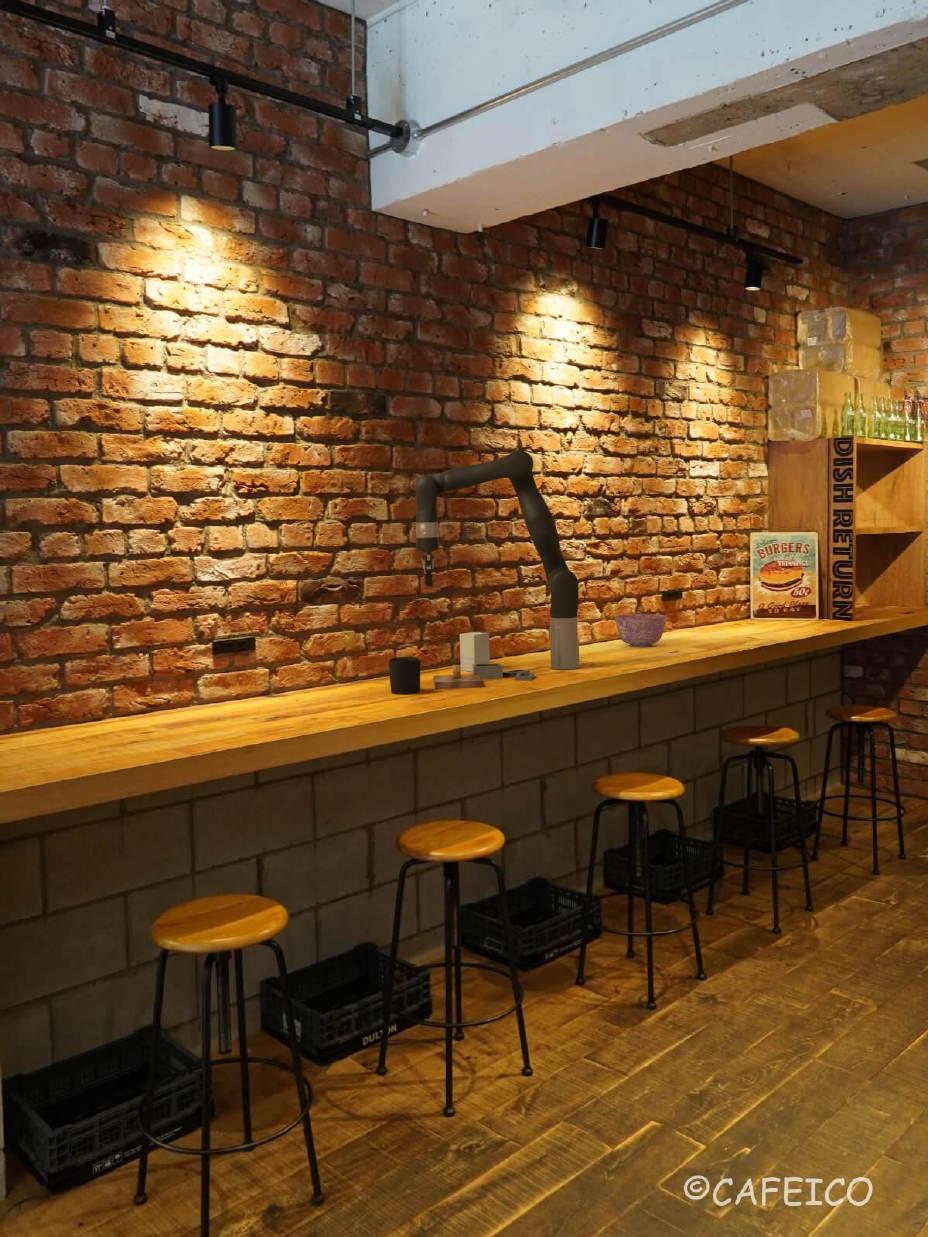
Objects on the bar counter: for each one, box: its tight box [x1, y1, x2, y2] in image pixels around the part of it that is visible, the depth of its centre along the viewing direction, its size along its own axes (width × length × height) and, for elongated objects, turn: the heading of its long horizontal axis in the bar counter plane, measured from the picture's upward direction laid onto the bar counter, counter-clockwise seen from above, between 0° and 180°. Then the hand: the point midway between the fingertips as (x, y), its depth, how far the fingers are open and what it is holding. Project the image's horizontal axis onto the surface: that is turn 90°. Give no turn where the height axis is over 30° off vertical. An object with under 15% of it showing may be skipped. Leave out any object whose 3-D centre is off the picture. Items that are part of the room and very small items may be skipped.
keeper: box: [432, 664, 483, 690], centre depth 322 cm, size 14×14×6 cm
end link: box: [472, 662, 504, 680], centre depth 335 cm, size 9×6×4 cm, turn 96°
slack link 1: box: [503, 668, 531, 678], centre depth 339 cm, size 8×5×1 cm, turn 129°
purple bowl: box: [614, 613, 667, 648], centre depth 408 cm, size 20×20×12 cm
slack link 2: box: [514, 672, 535, 681], centre depth 331 cm, size 8×5×1 cm, turn 169°
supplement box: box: [459, 631, 491, 673], centre depth 352 cm, size 7×7×13 cm
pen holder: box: [388, 656, 422, 695], centre depth 310 cm, size 9×9×10 cm
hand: (428, 585), depth 346 cm, fingers open, 8 cm apart
